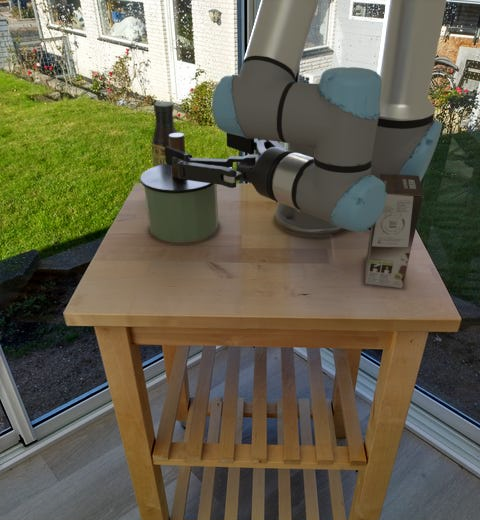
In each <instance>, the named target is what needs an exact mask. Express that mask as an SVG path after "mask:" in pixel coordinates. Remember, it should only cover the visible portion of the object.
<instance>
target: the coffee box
mask: <svg viewBox="0 0 480 520" xmlns="http://www.w3.org/2000/svg"><path fill="white" fill-rule="evenodd" d="M379 179H380V180H382V181H383V183H384V184H385V187H386V188H385V192H386V194H387V196H386V202H385V206H384V209H383V211H382V213H381V215H380V217H379V218H378V220H377V221H376V222H375V223H374V224H373V225H372V226H371V231H370V233H369V239H368V245H367V251H366V256H365V257H366V258H365V278H364V283H365V284H366V285H370V286H371V285H372V286H380V287H388V288H395V289H396V288H397V289H402V288H403V286H404V282H405V277H406V273H407V269H408V265H409V261H410V256H411V252H412V248H413V242H414V239H415V234H416V230H417V225H418V221H419V217H420V213H421V208H422V204H423V200H424V197H425V196H424V192H423V187H422V184H421V182H420V179H419V176H415V175H396V174H394V175H389V174H380V176H379Z"/></svg>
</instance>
